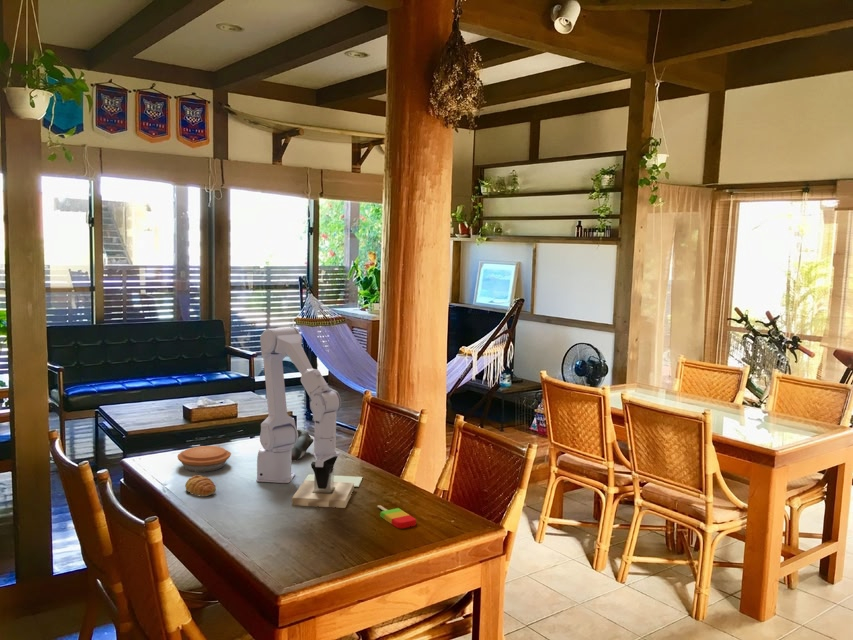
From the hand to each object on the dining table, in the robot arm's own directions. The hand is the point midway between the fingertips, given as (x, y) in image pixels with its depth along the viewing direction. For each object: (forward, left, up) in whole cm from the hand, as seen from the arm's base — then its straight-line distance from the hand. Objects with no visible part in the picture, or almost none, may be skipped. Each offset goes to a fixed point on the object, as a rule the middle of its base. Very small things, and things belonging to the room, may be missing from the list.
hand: (324, 485), depth 193 cm
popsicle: (+20, -11, -4) cm, 23 cm away
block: (0, 0, -3) cm, 3 cm away
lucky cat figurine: (-19, +36, -4) cm, 41 cm away
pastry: (-34, 0, -4) cm, 34 cm away
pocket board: (0, 0, -3) cm, 3 cm away
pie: (-41, +21, -4) cm, 46 cm away
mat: (0, +13, -3) cm, 13 cm away
